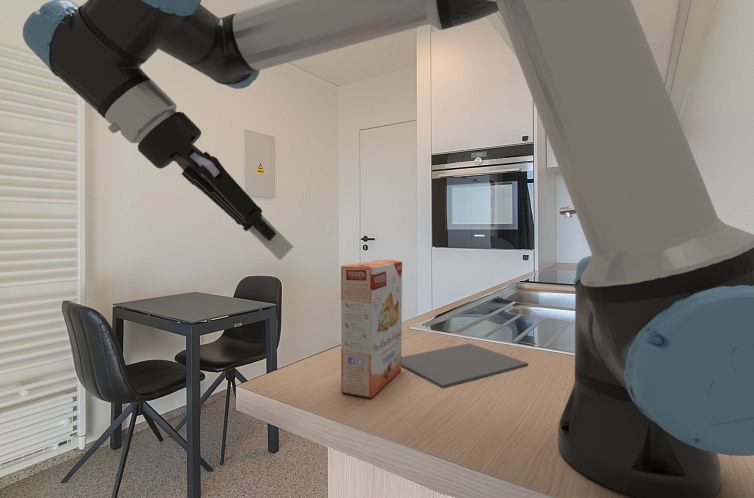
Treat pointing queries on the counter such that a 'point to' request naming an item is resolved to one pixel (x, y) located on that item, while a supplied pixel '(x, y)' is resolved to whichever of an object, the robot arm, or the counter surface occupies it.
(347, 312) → the cracker box
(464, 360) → the mat
